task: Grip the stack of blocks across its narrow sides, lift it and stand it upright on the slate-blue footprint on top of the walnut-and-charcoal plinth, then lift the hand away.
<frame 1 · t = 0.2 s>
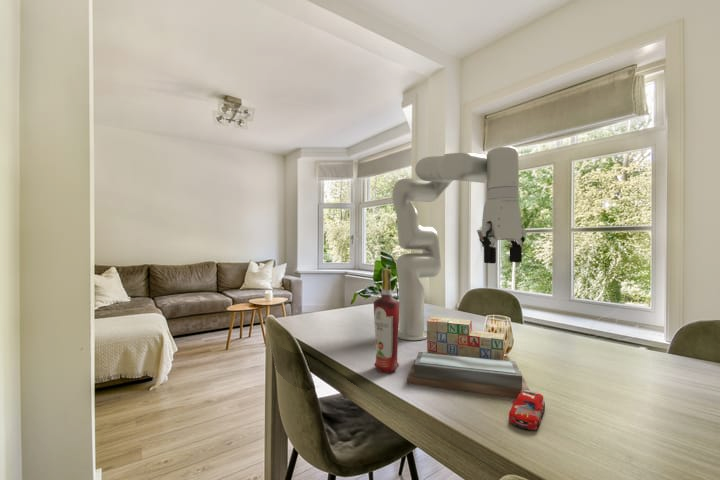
hand: (503, 262, 83), 30 cm above the table, tool pointing down, fingers open, 9 cm apart
liquor: (386, 370, 90), on the table
stack of blocks: (464, 363, 96), on the table
race car: (527, 417, 66), on the table
build plinth: (465, 380, 83), on the table
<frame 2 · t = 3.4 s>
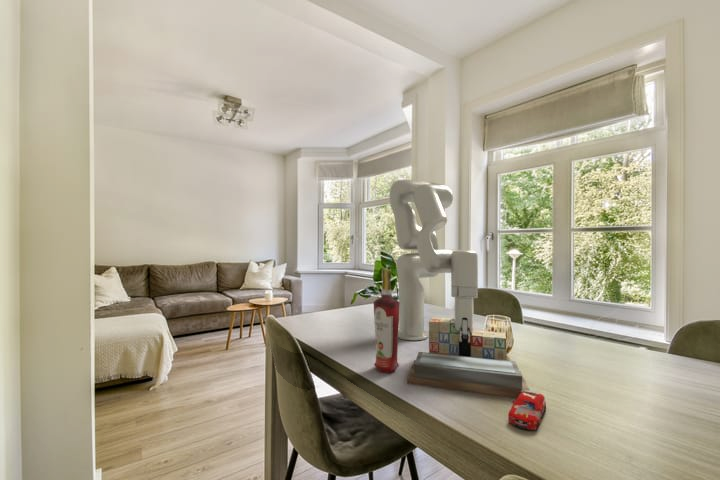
hand: (464, 351, 96), 3 cm above the table, tool pointing down, fingers closed on stack of blocks, 6 cm apart
stack of blocks: (466, 363, 95), on the table, touching gripper
everything else where it was.
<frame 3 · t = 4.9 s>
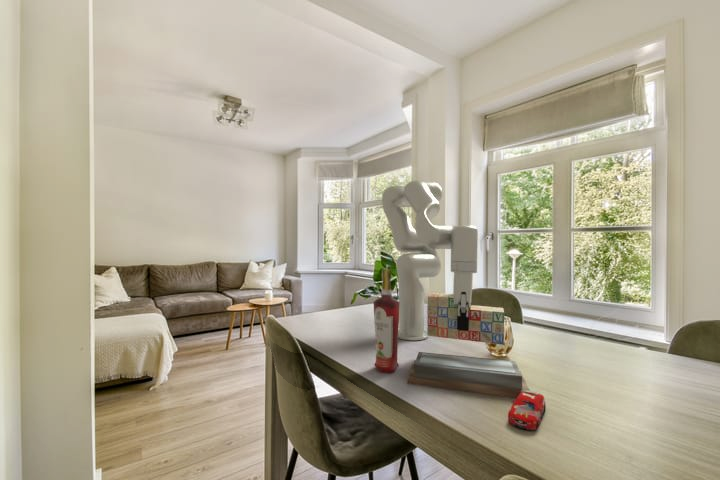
hand: (462, 326, 97), 11 cm above the table, tool pointing down, fingers closed on stack of blocks, 6 cm apart
stack of blocks: (464, 338, 96), point 7 cm above the table, touching gripper
everything else where it was.
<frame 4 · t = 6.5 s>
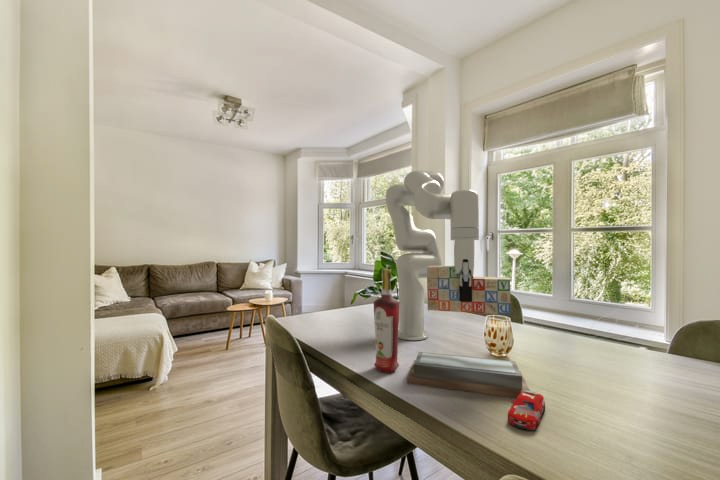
hand: (465, 298, 90), 20 cm above the table, tool pointing down, fingers closed on stack of blocks, 6 cm apart
stack of blocks: (467, 311, 89), point 17 cm above the table, touching gripper
everything else where it was.
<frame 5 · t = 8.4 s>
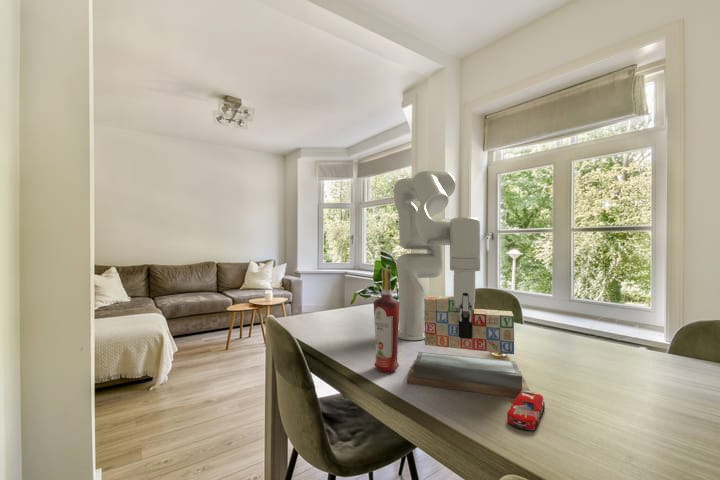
hand: (465, 333, 83), 12 cm above the table, tool pointing down, fingers closed on stack of blocks, 6 cm apart
stack of blocks: (467, 347, 83), point 9 cm above the table, touching gripper
everything else where it was.
when the fingers open (9 cm above the table, at t = 9.9 s): stack of blocks drops 1 cm, resting on build plinth.
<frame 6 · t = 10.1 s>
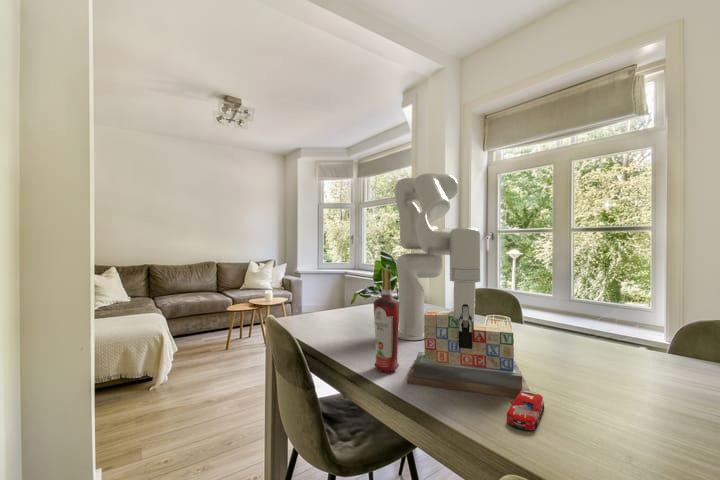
hand: (465, 342, 83), 10 cm above the table, tool pointing down, fingers open, 8 cm apart
stack of blocks: (467, 362, 83), point 4 cm above the table, touching build plinth
everything else where it was.
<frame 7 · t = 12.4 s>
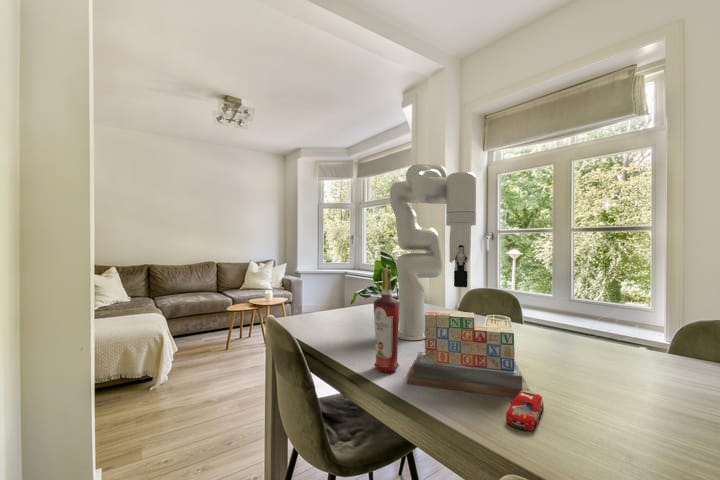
hand: (460, 284, 86), 25 cm above the table, tool pointing down, fingers open, 9 cm apart
nothing on the table moved.
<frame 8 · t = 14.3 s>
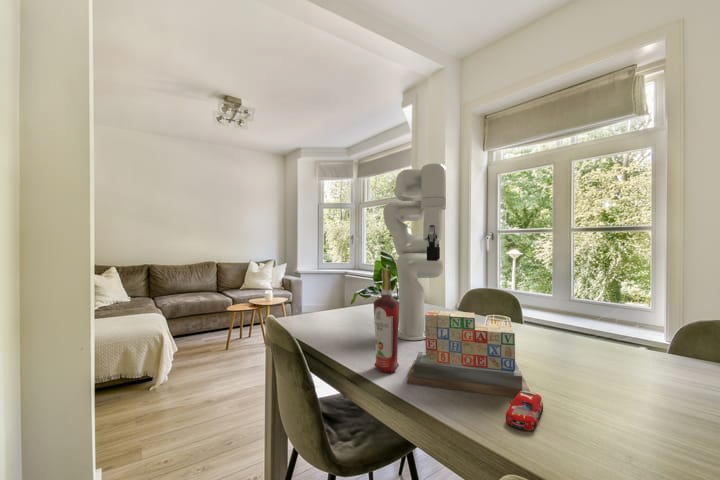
hand: (433, 259, 100), 30 cm above the table, tool pointing down, fingers open, 9 cm apart
nothing on the table moved.
at the end: stack of blocks 0.8 cm off-centre on the build plinth, point 4.5 cm above the build plinth's base; stack of blocks tilted 0°; the gripper is holding nothing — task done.
